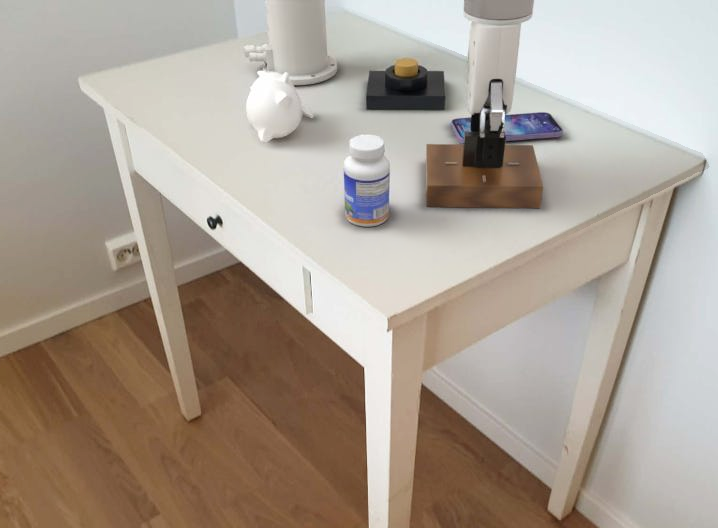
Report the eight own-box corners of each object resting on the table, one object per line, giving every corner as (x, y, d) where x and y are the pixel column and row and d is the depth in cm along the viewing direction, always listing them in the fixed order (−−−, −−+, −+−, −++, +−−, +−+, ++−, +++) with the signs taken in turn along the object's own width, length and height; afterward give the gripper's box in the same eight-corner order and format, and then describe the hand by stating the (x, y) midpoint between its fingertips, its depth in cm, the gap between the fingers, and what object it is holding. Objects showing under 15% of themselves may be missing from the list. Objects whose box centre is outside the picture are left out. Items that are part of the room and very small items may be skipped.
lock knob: (462, 166, 92) (465, 134, 89) (462, 161, 93) (464, 129, 90) (502, 166, 91) (506, 134, 88) (501, 161, 92) (505, 129, 89)
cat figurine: (260, 49, 105) (263, 78, 96) (324, 84, 110) (333, 115, 101) (235, 102, 109) (235, 134, 100) (297, 133, 114) (303, 167, 105)
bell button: (394, 78, 111) (394, 66, 110) (394, 69, 114) (395, 57, 113) (417, 78, 111) (418, 66, 110) (417, 69, 114) (418, 58, 113)
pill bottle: (344, 206, 91) (340, 132, 84) (387, 203, 91) (387, 129, 84) (346, 229, 87) (343, 154, 80) (391, 227, 87) (392, 151, 80)
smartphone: (449, 118, 107) (548, 111, 108) (449, 124, 107) (547, 117, 109) (461, 139, 101) (565, 131, 103) (460, 146, 102) (564, 138, 103)
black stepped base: (366, 109, 112) (365, 83, 109) (369, 84, 119) (369, 59, 116) (444, 110, 111) (446, 84, 108) (443, 84, 118) (444, 59, 116)
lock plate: (426, 206, 90) (427, 184, 88) (425, 164, 98) (426, 142, 96) (540, 208, 90) (543, 185, 87) (530, 165, 98) (533, 143, 96)
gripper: (460, -22, 85) (452, 119, 97) (468, 26, 73) (457, 182, 84) (525, -23, 85) (509, 119, 97) (543, 26, 72) (523, 182, 84)
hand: (485, 148), depth 90 cm, fingers open, 9 cm apart
